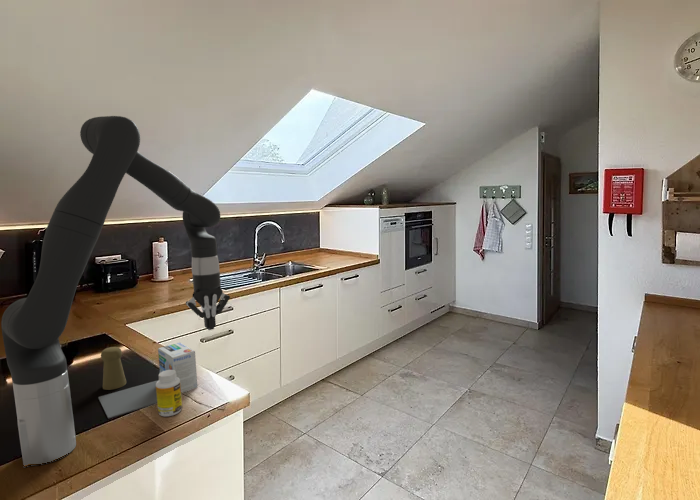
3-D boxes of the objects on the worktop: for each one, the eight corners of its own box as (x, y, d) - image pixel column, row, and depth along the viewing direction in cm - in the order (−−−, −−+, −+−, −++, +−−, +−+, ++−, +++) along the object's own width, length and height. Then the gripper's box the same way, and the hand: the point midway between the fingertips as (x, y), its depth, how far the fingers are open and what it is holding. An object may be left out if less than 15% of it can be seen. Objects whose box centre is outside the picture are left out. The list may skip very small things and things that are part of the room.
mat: (108, 418, 102) (108, 417, 102) (98, 398, 112) (98, 397, 112) (172, 398, 111) (172, 397, 111) (157, 381, 122) (157, 380, 122)
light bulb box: (159, 383, 120) (156, 347, 119) (183, 376, 125) (180, 341, 124) (174, 395, 113) (171, 357, 111) (198, 387, 118) (196, 350, 116)
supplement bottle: (177, 417, 102) (174, 377, 100) (154, 418, 101) (150, 378, 100) (185, 405, 107) (182, 367, 106) (163, 406, 107) (160, 368, 106)
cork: (99, 391, 116) (95, 353, 115) (105, 382, 122) (101, 346, 121) (123, 387, 118) (120, 350, 117) (128, 379, 124) (125, 343, 122)
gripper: (187, 276, 114) (192, 337, 116) (233, 269, 122) (237, 326, 125) (178, 273, 120) (183, 331, 122) (222, 266, 128) (226, 321, 130)
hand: (210, 328), depth 123 cm, fingers closed
